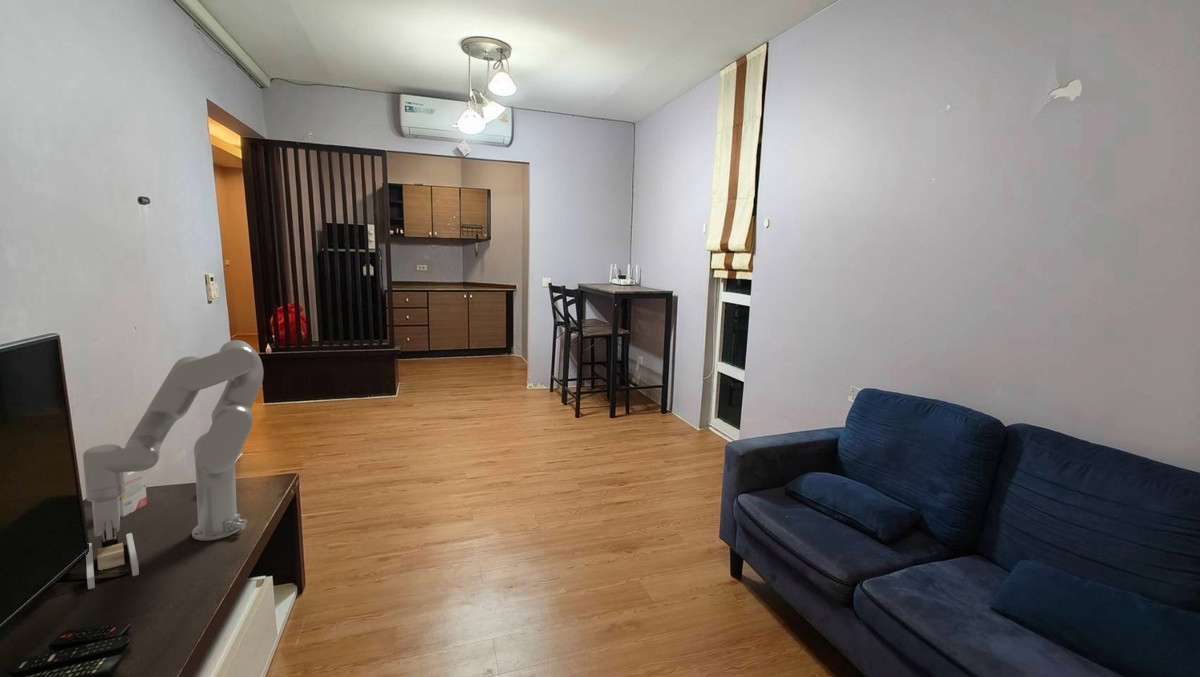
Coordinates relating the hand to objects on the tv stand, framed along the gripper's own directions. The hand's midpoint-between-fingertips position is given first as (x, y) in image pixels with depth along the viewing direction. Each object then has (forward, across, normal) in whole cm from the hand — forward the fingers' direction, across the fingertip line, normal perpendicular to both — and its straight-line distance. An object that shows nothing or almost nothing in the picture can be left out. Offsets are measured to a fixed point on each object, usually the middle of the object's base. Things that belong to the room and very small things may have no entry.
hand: (110, 552), depth 137 cm
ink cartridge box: (+1, -29, +5) cm, 29 cm away
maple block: (+1, +5, 0) cm, 5 cm away
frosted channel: (+1, +5, 0) cm, 5 cm away
